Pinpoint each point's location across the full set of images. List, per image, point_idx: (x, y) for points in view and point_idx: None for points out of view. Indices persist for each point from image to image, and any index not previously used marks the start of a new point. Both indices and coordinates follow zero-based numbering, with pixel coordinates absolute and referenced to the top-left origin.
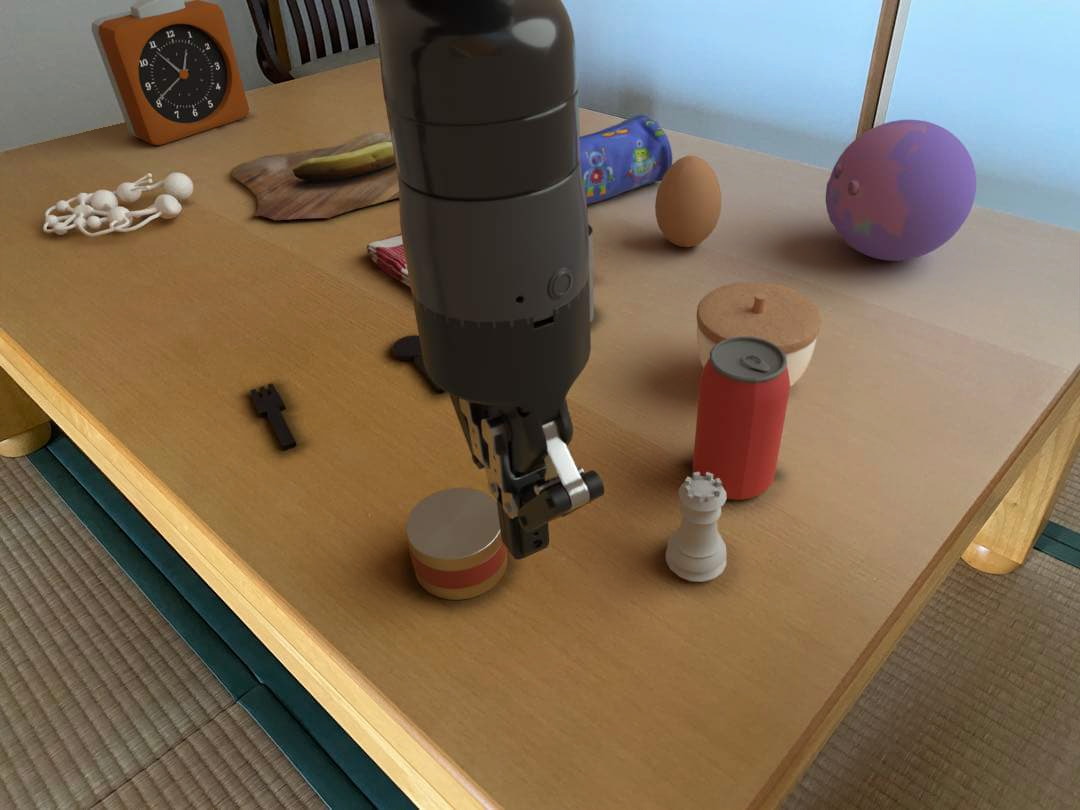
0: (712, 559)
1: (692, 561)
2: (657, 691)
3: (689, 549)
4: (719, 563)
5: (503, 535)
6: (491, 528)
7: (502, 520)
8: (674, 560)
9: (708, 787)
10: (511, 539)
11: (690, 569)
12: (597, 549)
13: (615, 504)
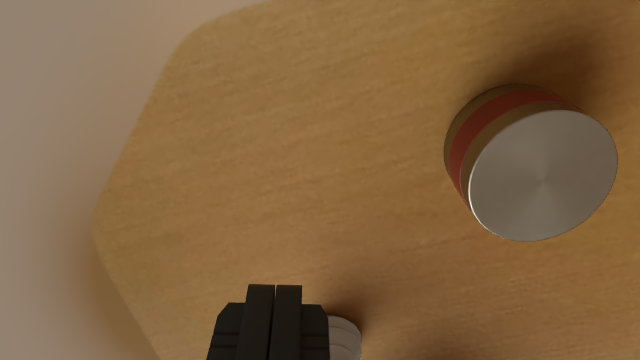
0: None
1: None
2: (220, 229)
3: None
4: None
5: (288, 306)
6: (491, 215)
7: (279, 345)
8: (330, 329)
9: (108, 210)
10: (241, 325)
11: None
12: (407, 275)
13: (446, 319)
